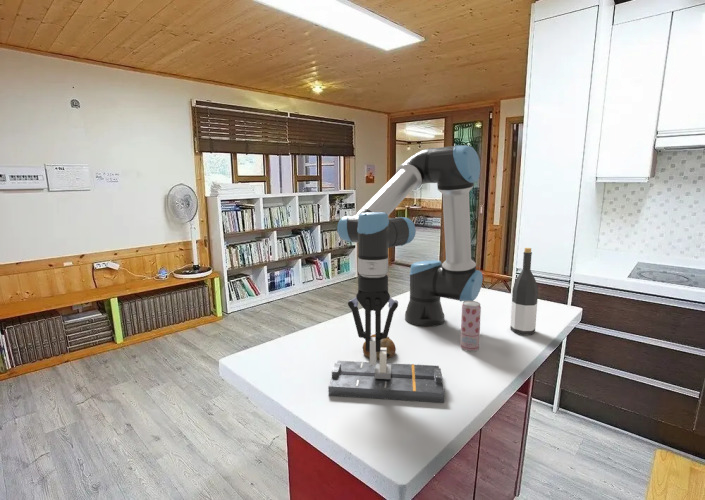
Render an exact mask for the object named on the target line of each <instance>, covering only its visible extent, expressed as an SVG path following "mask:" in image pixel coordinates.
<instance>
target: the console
mask: <svg viewBox="0 0 705 500" xmlns="http://www.w3.org/2000/svg"><path fill="white" fill-rule="evenodd" d="M376 364H380V362H376ZM387 365H391V379H375V368H376V365H370V361H369V362H367V361H351V360H337V362H334V364H333V367H332V370H331V377H330V378H331V379H330V381H329V384H328V386H327V387H328V388H327V389H328V391H327V392H328V396H329V397H331V396H332V397H344V398H345V397H346V398H360V399H361V398H363V399H379V400H394V401H405V402H406V401H410V402H425V403H441V404H444V403H445V390H444V385H443V374H442V369H441V367H440V365H431V364H430V365H429V364H414V363H411V364H410V363H390V362H389V363H388V362H387Z"/></svg>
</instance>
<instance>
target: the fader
mask: <svg viewBox="0 0 705 500" xmlns="http://www.w3.org/2000/svg"><path fill="white" fill-rule="evenodd" d="M379 363H380V364H376V368H375V379H391V365H387V363H388V362H387V348H384V347H381V349H380V360H379Z"/></svg>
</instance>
